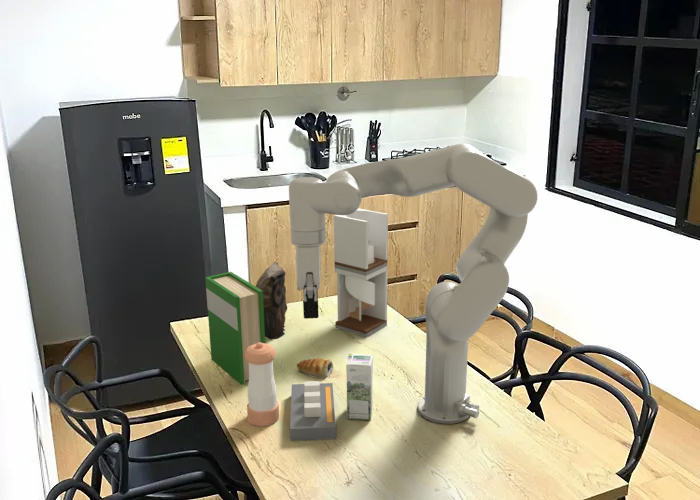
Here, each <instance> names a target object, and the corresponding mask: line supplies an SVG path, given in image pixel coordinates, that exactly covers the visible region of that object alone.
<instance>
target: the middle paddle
mask: <svg viewBox="0 0 700 500" xmlns="http://www.w3.org/2000/svg"><path fill="white" fill-rule="evenodd" d="M304 399H305V403H320V392H304Z"/></svg>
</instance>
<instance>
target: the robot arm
mask: <svg viewBox="0 0 700 500" xmlns="http://www.w3.org/2000/svg"><path fill="white" fill-rule="evenodd" d="M453 187H456V188H457V189H458V190H459V191H461V192H463V193H464V194H466V195H468V196H469V197H471V198H473V199H474V200H476V201H478V202H480V203H482V204H484V205H485V206H488V207H489V211H488V215H487V217H486V220H485V221H484V223H483V225H482V226H481V228H480V229H479V231H478V233H477V234H475V236H474V238H472V240H471V242H469V245H468V246H467V247H466V248H465V249H464V251H463V252H462V253H461V255H460V256H459V258H458V259H457V262H456V266H455V269H456V274H457V276H458V279H459V281H460V283H459V284H458V283H455V282H452V281H441V282H439V283H437V284H435V285H434V286H432V287H431V289H430V290H429V291H428V293H427V295H426V299H425V306H424V307H425V310H424V311H425V326H426V331H425V332H426V333H425V334H426V341H425V345H426V346H425V376H424V383H425V384H424V396H422V398H420V400H419V401H418V402H417V412H419V414H420V415H421V416H422V417H423V418H424V419H426V420H428V421H430V422H434V423H437V424H444V425H446V424H447V425H448V424H449V425H451V424H459V423H461V422H464V421H466V420H467V419H469V418H470V417H471V418H473V419H477V418H478V417H479V416H480V410H479V409H480V405H478V404H476V403H472V402H471V401H470V400H471V399H470V396H471V395H470V394H468V393H467V373H468V356H469V355H468V352H469V339H470V338H472V337H473V336H474V335H475V334H476V333H477V332H478V331H479V330H480V329H481V327H482V326H483V324H484V323H485V322H486V321H487V320H488V318H490V315H492V313H493V312H494V310H495V309H496V308H497V306H498V305H499V304H500V302H501V301H502V300H503V299H504V298H505V295H506V293H507V291H508V288H509V286H510V285H509V284H510V275H509V271H508V268H507V267H506V266H505V263H506V262H507V260H508V259H509V257H510V256H511V255H512V254H513V252H514V250H515V249H516V247H517V246H518V244H519V243H520V241H521V240H522V238H523V235H524V233H525V230H526V227H527V224H528V217H529V214H530V213H531V212H532V211H533V210H534V208H535V207H536V205H537V202H538V190H537V189H536V186H535V184H533V182H532V181H531V180H530V179H528V178H527V177H526V176H524V175H523V174H521V172H519V171H517V170H516V169H514V168H512V167H509V166H503V165H501V164H500V163H499V162H496V161H495V160H493V159H491V158H490V157H488V156H487V155H486V154H484V153H483V152H481V151H480V150H478V149H477V148H476V147H474V146H472V145H471V144H467V143H457V144H453V145H448V146H443V147H440V148H437V149H433V150H428V151H426V152H425V151H424V152H421V153H418V154H413V155H409V156H406V157H402V158H393V159H387V160H381V161H380V160H379V161H372V162H367V163H362V164H359V165H354V166H350V167H346V168H343V169H340V170H337V171H335V172H333V173H332V174H330V175H329V176H328V177H327V179H326V181H325V182H324V181H323V180H321V178H318V177H313V176H302V177H296V178H293V179H292V180H291V181H290V182H289V184H288V200H289V201H288V202H289V203H288V204H289V206H288V207H289V223H290V225H289V226H290V242H291V245H293V246H295V269H296V289H297V291H299V292H300V291H301V290H303V301H302V307H303V308H302V309H303V310H302V311H303V318H304V319H319V295H318V294H319V293H318V290H319V289H320V287H321V285H320V284H321V273H322V272H321V270H322V267H321V266H322V265H321V264H322V262H321V261H322V260H321V259H322V257H321V246H322V245H324V244H325V243H327V236H326V235H327V233H326V231H327V230H326V214H328V215H333V216H334V215H349V214H352V213H354V212H355V211H356V210H357V209H358V208H359V209H360V207H361V204H362V200H363V199H364V198H368V197H373V196H378V195H395V196H400V197H405V198H406V197H407V198H414V197H418V196H422V195H426V194H429V193H430V194H431V193H434V192H437V191H441V190H445V189H449V188H453Z"/></svg>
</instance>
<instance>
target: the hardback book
mask: <svg viewBox="0 0 700 500" xmlns="http://www.w3.org/2000/svg"><path fill="white" fill-rule="evenodd" d="M205 291H206V293H205V294H206V304H207V319H208V328H209V329H208V331H209V343H210V345H209V346H210V360H211V361H212V362H213V363H215V364H216V365H217V366H218V367H219V368H220V369H222V370H223V371H224V372H225V373H226V374H228V376H229V377H231V378H232V379H234V381H235V382H237V383H238V384H239V385H240V386H244V385H246V384H245V381H247V380H248V381H249V362H248V361H247V360H246V358H245V351H246V350H247V348H248V347H249V346H251V345H253V344H257V343H259V342H261V343H265V344H266V337H265V327H264V306H263V291H262V290H260V289H259V288H257V287H256V285H253V284H252V283H251V282H249V281H247V280H245V279H244V278H242V277H241V276H239V275H237V274H235V273H234V272H233V271H228V272H224V273H220V274H213V275H209V276H205Z"/></svg>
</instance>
